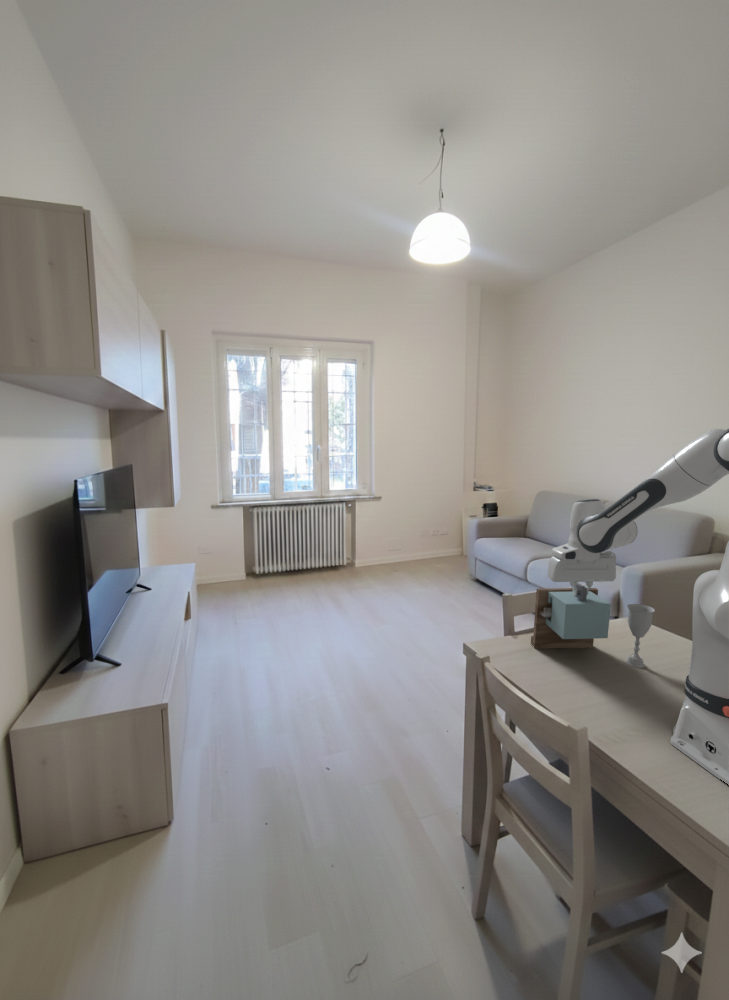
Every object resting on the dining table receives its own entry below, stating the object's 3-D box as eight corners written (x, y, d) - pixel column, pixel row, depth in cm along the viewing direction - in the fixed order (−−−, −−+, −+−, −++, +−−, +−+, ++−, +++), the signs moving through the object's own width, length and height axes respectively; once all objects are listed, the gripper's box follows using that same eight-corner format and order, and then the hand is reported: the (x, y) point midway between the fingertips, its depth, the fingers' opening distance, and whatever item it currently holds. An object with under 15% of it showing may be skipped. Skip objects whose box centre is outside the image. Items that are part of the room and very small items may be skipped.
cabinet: (607, 638, 135) (611, 590, 133) (563, 639, 134) (566, 591, 132) (586, 622, 147) (590, 578, 144) (545, 623, 146) (548, 579, 144)
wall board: (598, 651, 145) (603, 592, 142) (538, 652, 144) (542, 593, 141) (587, 643, 151) (592, 586, 148) (530, 644, 150) (534, 587, 147)
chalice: (641, 658, 141) (647, 604, 138) (653, 669, 134) (659, 612, 131) (617, 657, 141) (623, 603, 139) (628, 668, 135) (633, 611, 132)
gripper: (609, 548, 140) (606, 590, 142) (546, 548, 138) (543, 591, 140) (622, 553, 133) (618, 597, 135) (556, 554, 132) (553, 598, 134)
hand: (580, 594), depth 138 cm, fingers closed on cabinet
